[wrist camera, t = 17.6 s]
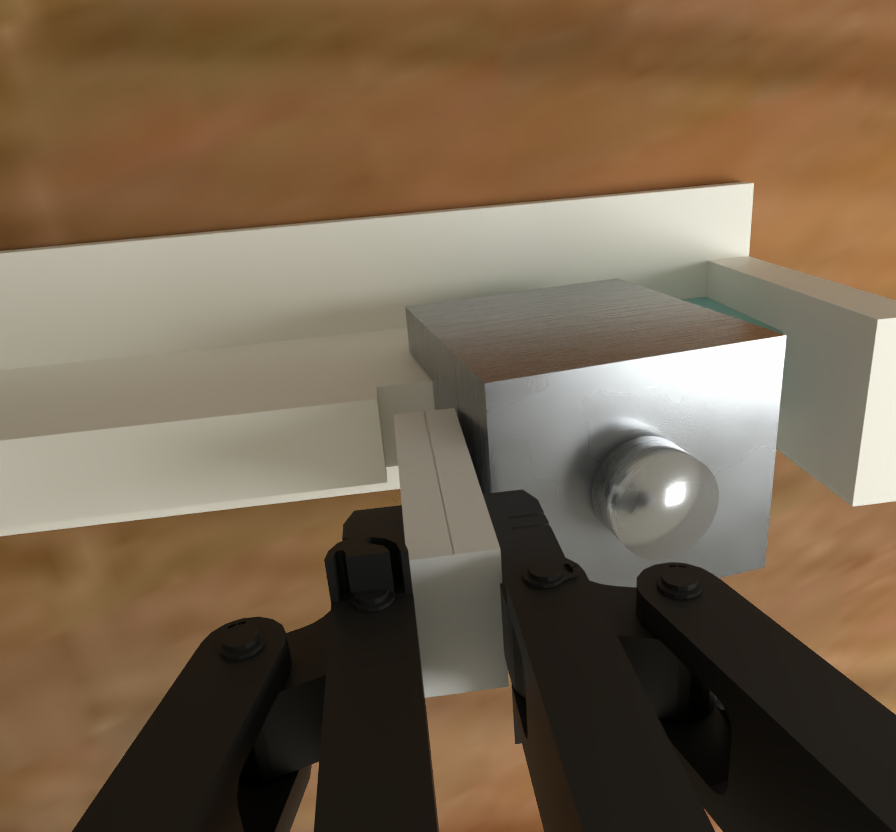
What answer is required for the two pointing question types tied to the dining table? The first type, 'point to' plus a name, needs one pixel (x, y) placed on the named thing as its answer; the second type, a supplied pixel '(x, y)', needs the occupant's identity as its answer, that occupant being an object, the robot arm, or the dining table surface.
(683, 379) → the grey cube with knob
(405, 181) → the dining table surface
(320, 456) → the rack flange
